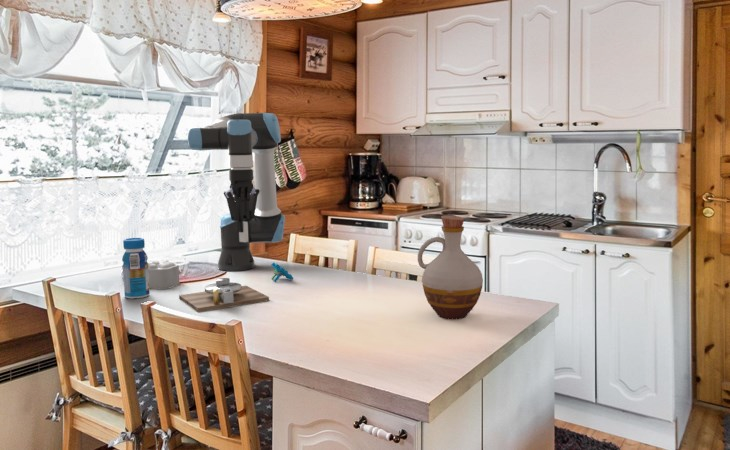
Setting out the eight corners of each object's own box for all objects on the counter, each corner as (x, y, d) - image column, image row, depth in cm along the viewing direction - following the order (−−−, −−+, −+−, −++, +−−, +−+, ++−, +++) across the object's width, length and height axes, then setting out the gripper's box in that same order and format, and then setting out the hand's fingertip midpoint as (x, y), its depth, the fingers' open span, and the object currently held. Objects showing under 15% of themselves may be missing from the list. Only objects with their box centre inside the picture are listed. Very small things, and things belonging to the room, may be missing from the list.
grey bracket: (203, 291, 206) (202, 277, 205) (238, 288, 210) (238, 274, 209) (209, 305, 188) (208, 289, 188) (247, 301, 192) (247, 286, 192)
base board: (179, 298, 204) (178, 289, 204) (246, 288, 217) (245, 280, 217) (197, 311, 188) (197, 302, 187) (269, 300, 201) (268, 291, 200)
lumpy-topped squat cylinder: (166, 289, 218) (164, 265, 217) (136, 287, 222) (134, 264, 221) (183, 283, 228) (181, 260, 227) (154, 281, 232) (152, 258, 231)
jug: (409, 320, 176) (408, 218, 172) (425, 305, 193) (425, 212, 188) (476, 327, 169) (477, 221, 165) (487, 310, 186) (488, 213, 182)
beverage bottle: (118, 298, 206) (114, 240, 203) (136, 292, 214) (132, 236, 211) (138, 300, 203) (134, 241, 200) (155, 294, 211) (152, 237, 208)
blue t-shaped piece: (298, 278, 226) (278, 261, 223) (288, 290, 224) (268, 273, 221) (288, 276, 236) (269, 260, 233) (278, 288, 234) (259, 272, 231)
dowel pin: (213, 303, 193) (212, 290, 192) (217, 302, 194) (217, 289, 193) (214, 304, 191) (214, 291, 191) (219, 304, 192) (219, 290, 192)
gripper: (249, 167, 199) (252, 238, 203) (216, 169, 190) (220, 243, 193) (264, 168, 195) (266, 240, 198) (231, 169, 185) (234, 245, 188)
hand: (243, 241), depth 195 cm, fingers closed
